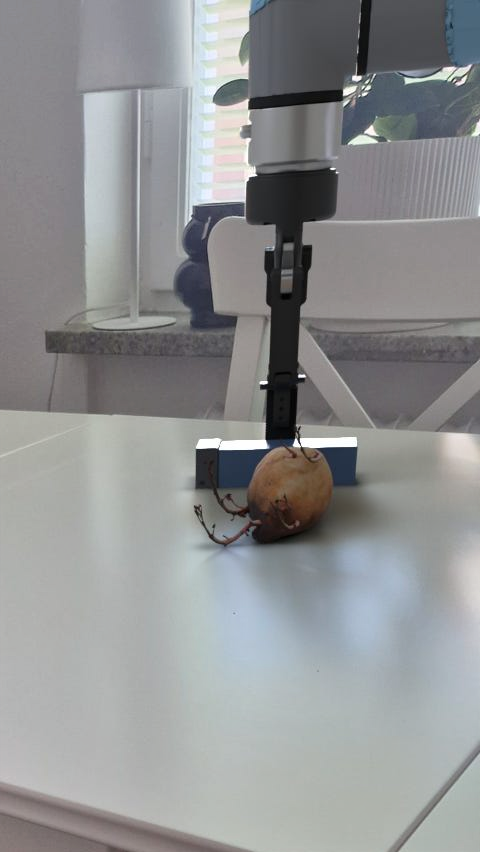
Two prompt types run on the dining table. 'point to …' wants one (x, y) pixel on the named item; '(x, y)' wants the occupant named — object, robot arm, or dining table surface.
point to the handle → (244, 456)
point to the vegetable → (280, 494)
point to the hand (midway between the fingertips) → (279, 461)
